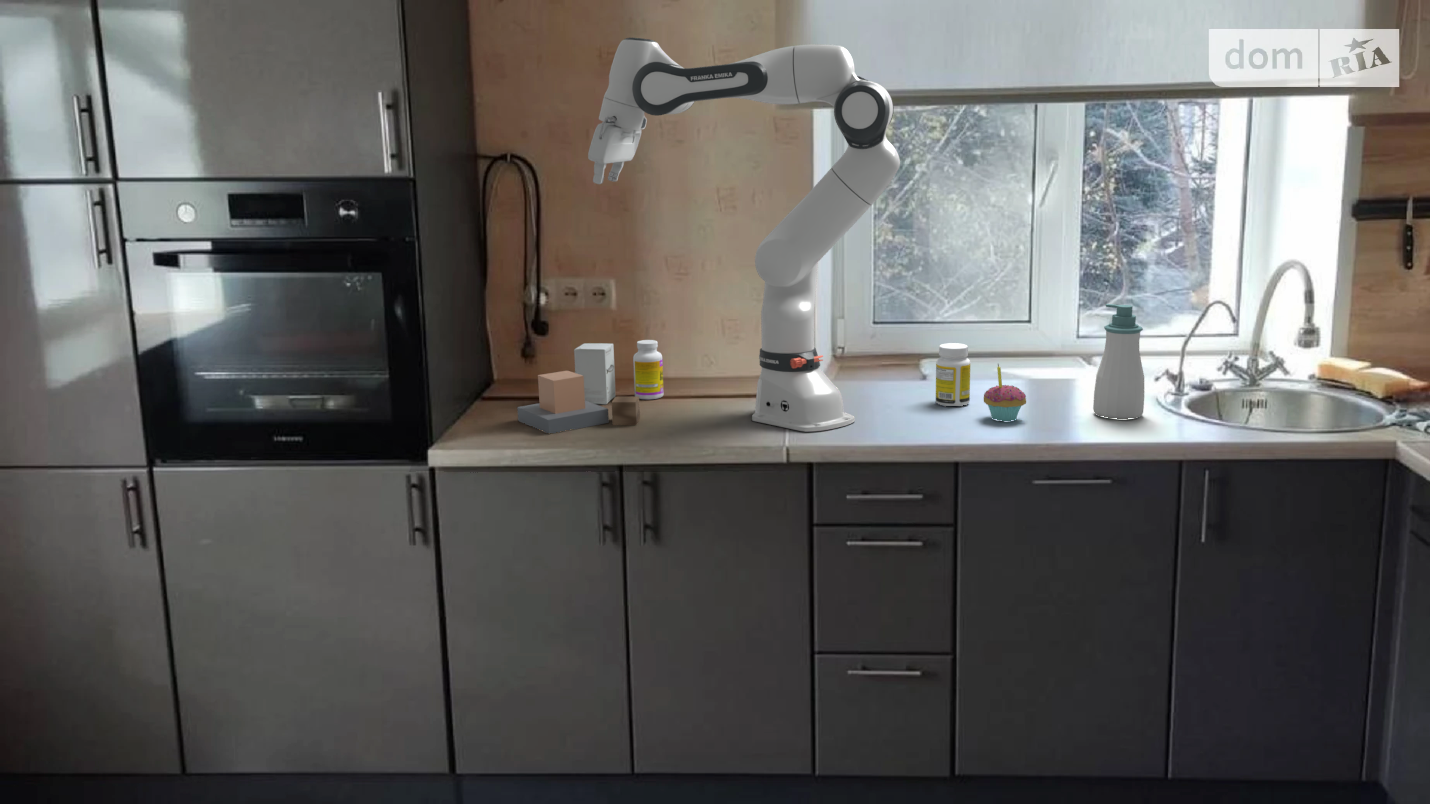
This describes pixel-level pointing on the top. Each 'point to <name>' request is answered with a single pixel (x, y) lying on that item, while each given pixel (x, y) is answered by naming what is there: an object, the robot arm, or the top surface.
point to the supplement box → (596, 371)
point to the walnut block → (625, 411)
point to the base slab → (562, 417)
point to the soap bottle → (1120, 369)
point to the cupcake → (1004, 400)
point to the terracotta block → (561, 391)
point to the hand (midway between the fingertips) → (604, 182)
